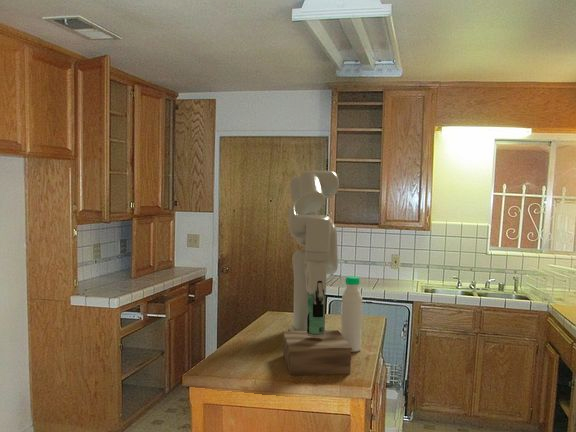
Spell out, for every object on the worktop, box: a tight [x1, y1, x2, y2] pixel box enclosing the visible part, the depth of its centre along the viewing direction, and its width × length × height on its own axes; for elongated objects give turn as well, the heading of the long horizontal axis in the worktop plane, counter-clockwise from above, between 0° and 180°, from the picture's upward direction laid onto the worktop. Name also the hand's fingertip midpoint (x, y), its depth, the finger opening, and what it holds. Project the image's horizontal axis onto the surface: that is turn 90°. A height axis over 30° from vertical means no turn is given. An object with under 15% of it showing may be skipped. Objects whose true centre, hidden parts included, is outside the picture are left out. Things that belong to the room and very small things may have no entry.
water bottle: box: [340, 275, 363, 353], centre depth 173 cm, size 7×7×25 cm
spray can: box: [307, 290, 326, 337], centre depth 157 cm, size 6×6×20 cm
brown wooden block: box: [282, 329, 352, 376], centre depth 158 cm, size 19×19×8 cm
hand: (316, 313), depth 157 cm, fingers closed on spray can, 5 cm apart
